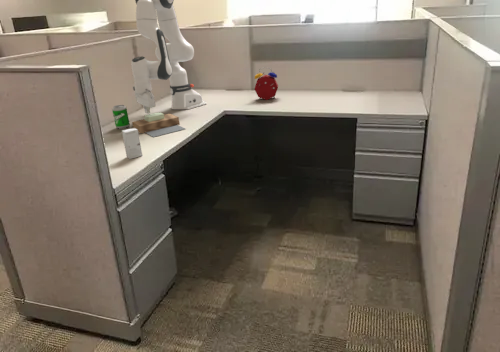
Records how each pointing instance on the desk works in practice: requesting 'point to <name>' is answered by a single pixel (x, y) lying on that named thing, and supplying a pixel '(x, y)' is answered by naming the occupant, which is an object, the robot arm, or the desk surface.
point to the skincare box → (132, 143)
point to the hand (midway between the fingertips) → (147, 113)
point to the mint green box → (154, 117)
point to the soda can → (120, 116)
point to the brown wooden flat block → (156, 123)
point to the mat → (165, 130)
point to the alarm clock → (266, 85)
